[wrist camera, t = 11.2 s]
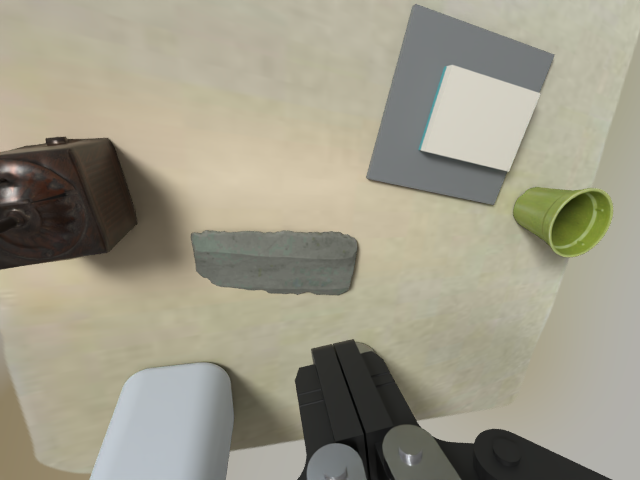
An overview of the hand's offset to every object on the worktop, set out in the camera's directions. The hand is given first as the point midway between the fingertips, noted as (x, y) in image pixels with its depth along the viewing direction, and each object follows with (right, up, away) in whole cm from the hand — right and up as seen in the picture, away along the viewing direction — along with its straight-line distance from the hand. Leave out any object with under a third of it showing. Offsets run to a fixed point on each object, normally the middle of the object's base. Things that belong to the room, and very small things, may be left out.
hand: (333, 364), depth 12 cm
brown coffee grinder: (-31, +10, +27) cm, 42 cm away
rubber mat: (+17, +20, +32) cm, 42 cm away
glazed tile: (+14, +20, +30) cm, 38 cm away
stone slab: (-7, +1, +36) cm, 36 cm away
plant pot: (+32, +9, +40) cm, 52 cm away
